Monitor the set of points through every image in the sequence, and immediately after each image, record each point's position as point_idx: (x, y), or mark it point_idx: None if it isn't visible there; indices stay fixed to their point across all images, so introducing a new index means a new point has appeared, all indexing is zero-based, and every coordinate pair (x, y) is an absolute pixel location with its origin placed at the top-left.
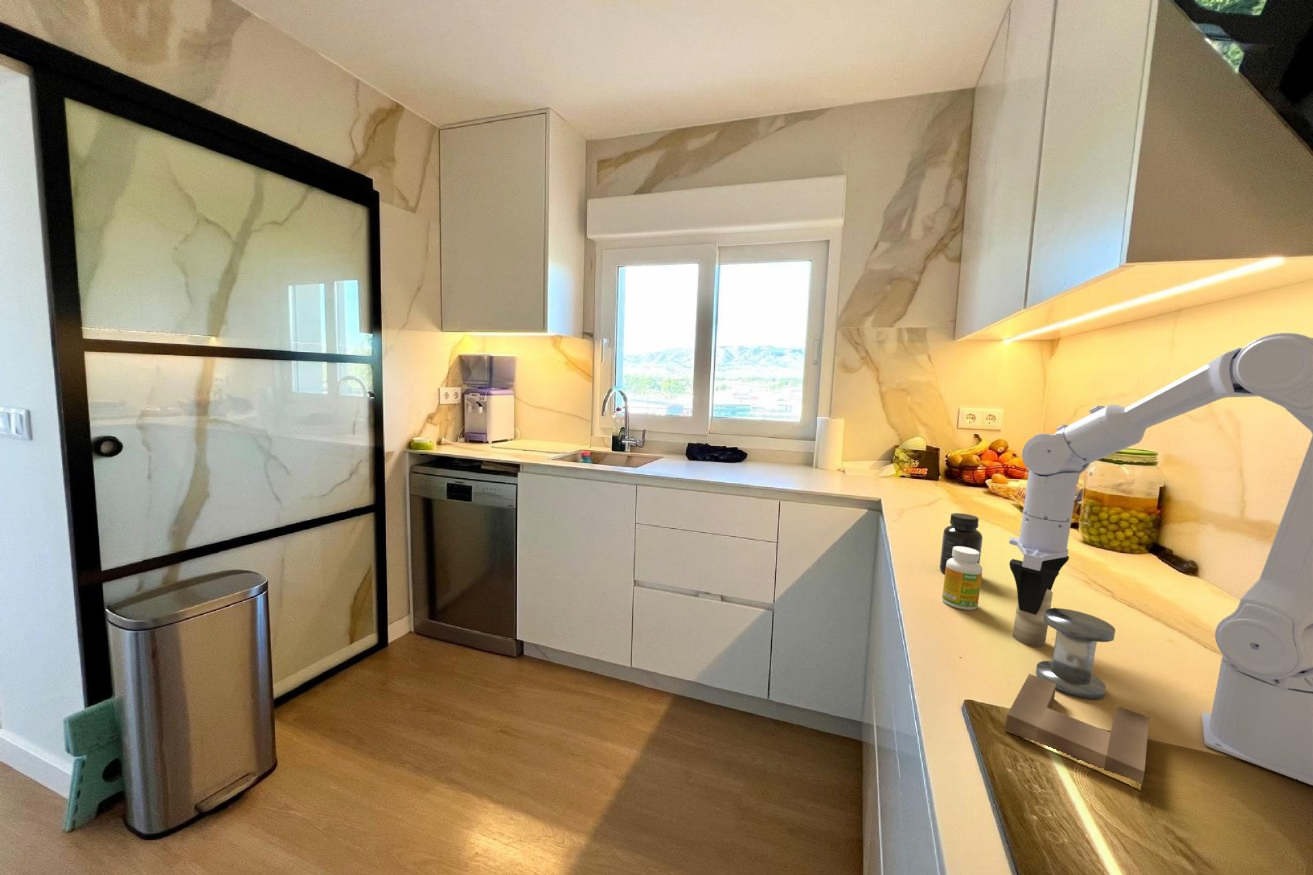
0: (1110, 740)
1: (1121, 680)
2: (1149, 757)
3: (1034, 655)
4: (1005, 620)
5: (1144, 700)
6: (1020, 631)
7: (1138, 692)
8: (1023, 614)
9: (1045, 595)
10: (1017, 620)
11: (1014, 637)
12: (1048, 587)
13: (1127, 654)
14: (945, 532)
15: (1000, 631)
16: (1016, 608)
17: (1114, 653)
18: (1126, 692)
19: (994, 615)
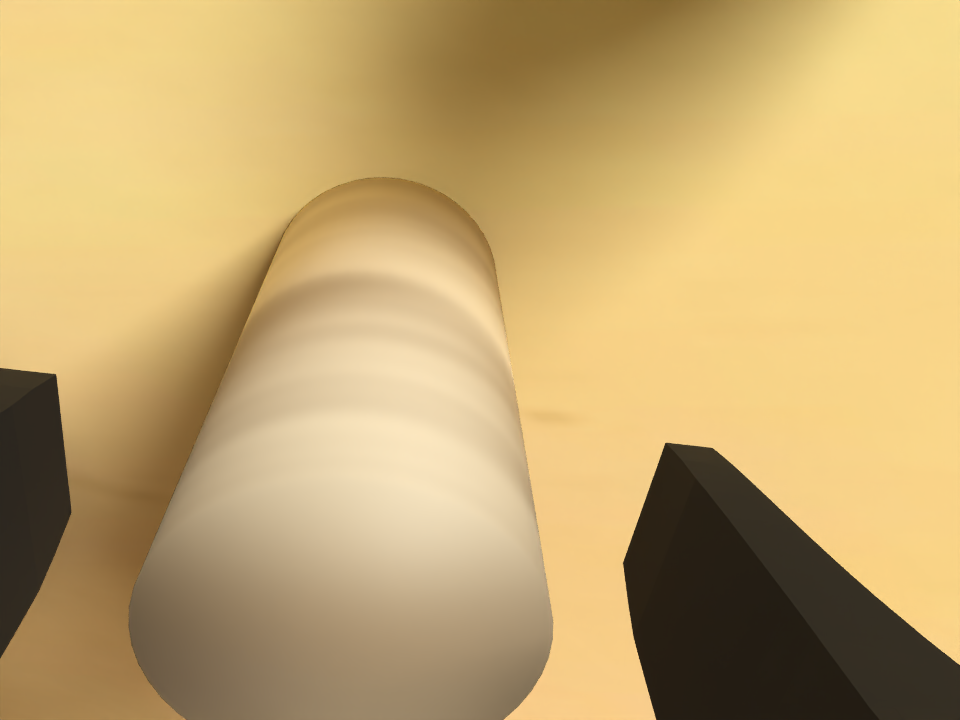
0: None
1: None
2: None
3: (105, 323)
4: (715, 109)
5: (39, 716)
6: (273, 261)
7: (112, 705)
8: (234, 352)
9: (192, 713)
10: (293, 265)
11: (326, 194)
12: (670, 702)
13: (596, 694)
14: None
15: (394, 80)
16: (364, 287)
17: (562, 656)
18: (55, 673)
19: (792, 6)
